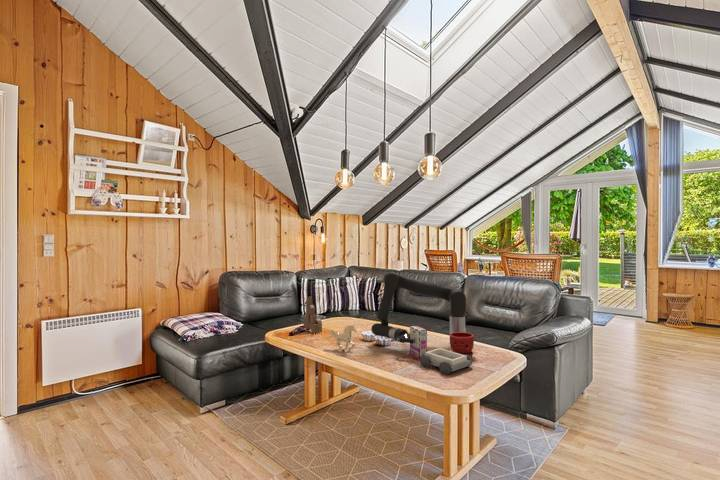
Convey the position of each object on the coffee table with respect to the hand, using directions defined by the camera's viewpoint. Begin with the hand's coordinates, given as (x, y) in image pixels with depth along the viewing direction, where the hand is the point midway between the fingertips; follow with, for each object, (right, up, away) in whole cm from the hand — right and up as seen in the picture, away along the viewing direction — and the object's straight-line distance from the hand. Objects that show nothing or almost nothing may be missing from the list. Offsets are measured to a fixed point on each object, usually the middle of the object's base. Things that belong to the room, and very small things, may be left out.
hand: (418, 340), depth 210 cm
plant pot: (+25, -9, +3) cm, 26 cm away
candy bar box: (0, -10, 0) cm, 10 cm away
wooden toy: (-66, -10, +60) cm, 90 cm away
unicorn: (-42, -10, +15) cm, 46 cm away
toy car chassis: (+12, -10, -15) cm, 21 cm away
